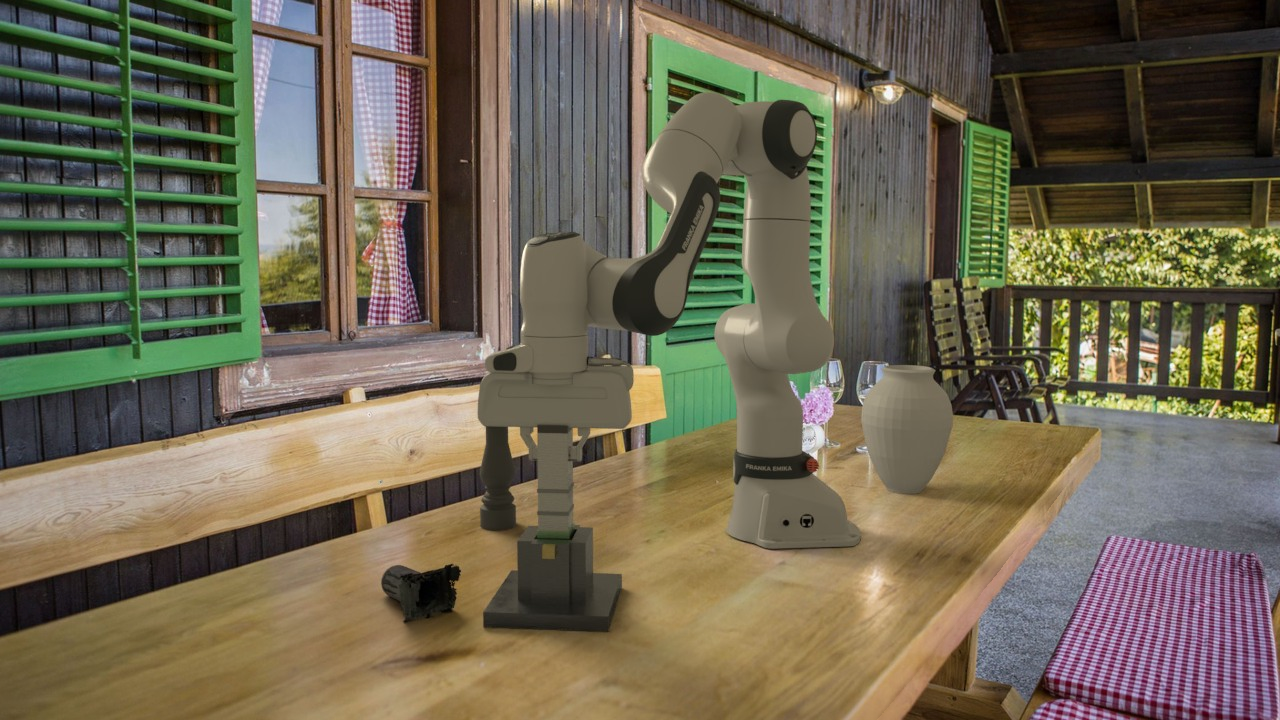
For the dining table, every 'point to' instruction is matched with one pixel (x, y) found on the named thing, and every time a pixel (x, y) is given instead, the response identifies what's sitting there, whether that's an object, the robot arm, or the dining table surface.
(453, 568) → the dark flanged cylinder
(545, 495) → the column
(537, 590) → the stand
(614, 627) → the dining table surface
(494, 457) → the candle holder
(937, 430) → the vase
